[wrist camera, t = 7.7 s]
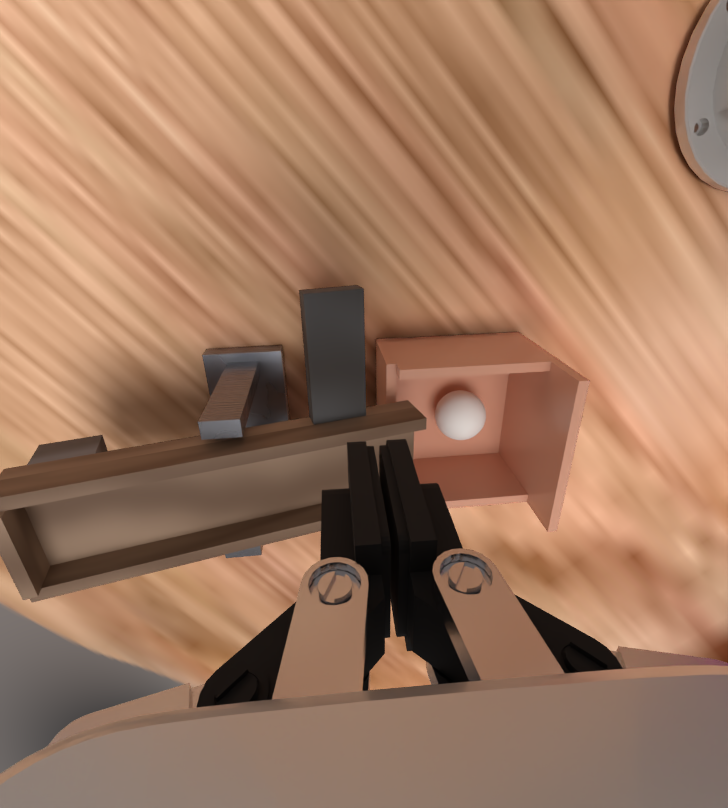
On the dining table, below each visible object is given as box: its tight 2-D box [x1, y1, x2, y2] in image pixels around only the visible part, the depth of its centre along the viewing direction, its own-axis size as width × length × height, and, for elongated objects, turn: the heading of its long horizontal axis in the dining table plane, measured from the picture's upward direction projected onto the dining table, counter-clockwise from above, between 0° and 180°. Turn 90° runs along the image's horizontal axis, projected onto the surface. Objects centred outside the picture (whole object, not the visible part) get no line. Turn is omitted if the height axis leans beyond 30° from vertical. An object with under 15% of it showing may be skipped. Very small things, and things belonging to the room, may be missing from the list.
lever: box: [0, 285, 427, 602], centre depth 23 cm, size 13×20×6 cm, turn 91°
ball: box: [435, 390, 486, 440], centre depth 31 cm, size 4×4×4 cm
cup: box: [376, 332, 590, 532], centre depth 29 cm, size 10×10×9 cm
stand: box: [198, 345, 290, 558], centre depth 28 cm, size 10×5×10 cm, turn 1°
